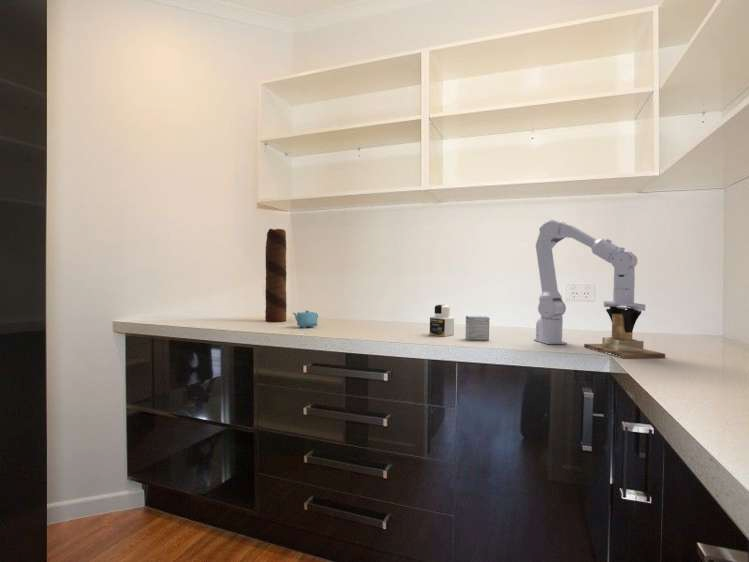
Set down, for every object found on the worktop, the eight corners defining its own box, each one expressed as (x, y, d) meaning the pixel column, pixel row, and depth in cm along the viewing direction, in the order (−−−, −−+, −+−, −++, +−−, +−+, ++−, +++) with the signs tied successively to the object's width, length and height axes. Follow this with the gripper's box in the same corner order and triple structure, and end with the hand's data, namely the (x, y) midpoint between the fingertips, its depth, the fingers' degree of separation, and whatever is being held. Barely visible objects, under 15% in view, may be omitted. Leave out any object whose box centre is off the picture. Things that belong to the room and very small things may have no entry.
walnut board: (584, 347, 138) (584, 335, 138) (621, 347, 140) (621, 334, 140) (623, 358, 121) (623, 344, 121) (665, 357, 123) (665, 343, 122)
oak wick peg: (611, 338, 132) (612, 313, 132) (622, 338, 133) (622, 313, 133) (621, 340, 128) (622, 315, 128) (632, 340, 129) (632, 314, 129)
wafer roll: (266, 322, 192) (267, 227, 191) (263, 320, 202) (264, 230, 201) (288, 322, 196) (289, 229, 195) (284, 319, 206) (285, 231, 205)
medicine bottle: (429, 334, 163) (429, 304, 162) (439, 333, 168) (439, 304, 168) (444, 336, 158) (444, 306, 158) (454, 334, 163) (454, 305, 163)
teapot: (293, 329, 173) (293, 311, 173) (289, 327, 178) (289, 310, 178) (320, 327, 178) (320, 310, 178) (315, 326, 184) (315, 309, 184)
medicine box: (485, 338, 155) (486, 316, 154) (489, 340, 150) (489, 317, 150) (465, 338, 154) (465, 315, 154) (468, 340, 150) (468, 317, 150)
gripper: (596, 288, 136) (595, 328, 137) (632, 289, 122) (630, 334, 122) (614, 288, 138) (613, 328, 138) (651, 290, 124) (650, 334, 124)
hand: (622, 331), depth 130 cm, fingers closed on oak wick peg, 4 cm apart
